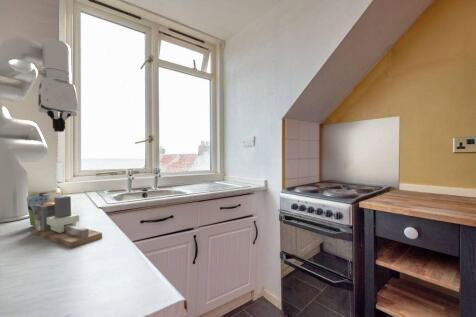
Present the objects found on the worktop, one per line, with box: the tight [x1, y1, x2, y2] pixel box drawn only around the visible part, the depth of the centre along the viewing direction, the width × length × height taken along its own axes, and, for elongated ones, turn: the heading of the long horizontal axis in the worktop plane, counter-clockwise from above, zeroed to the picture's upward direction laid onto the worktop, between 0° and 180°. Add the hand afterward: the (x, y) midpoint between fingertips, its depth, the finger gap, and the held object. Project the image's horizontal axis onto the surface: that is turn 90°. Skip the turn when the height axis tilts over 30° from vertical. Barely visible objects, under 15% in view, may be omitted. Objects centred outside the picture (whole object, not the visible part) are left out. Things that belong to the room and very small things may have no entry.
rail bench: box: [30, 201, 103, 249], centre depth 68 cm, size 25×8×9 cm, turn 62°
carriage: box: [47, 195, 80, 233], centre depth 68 cm, size 6×6×10 cm
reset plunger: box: [43, 201, 55, 206], centre depth 72 cm, size 4×4×2 cm
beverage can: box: [27, 191, 51, 227], centre depth 78 cm, size 6×7×12 cm
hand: (59, 131), depth 76 cm, fingers closed
